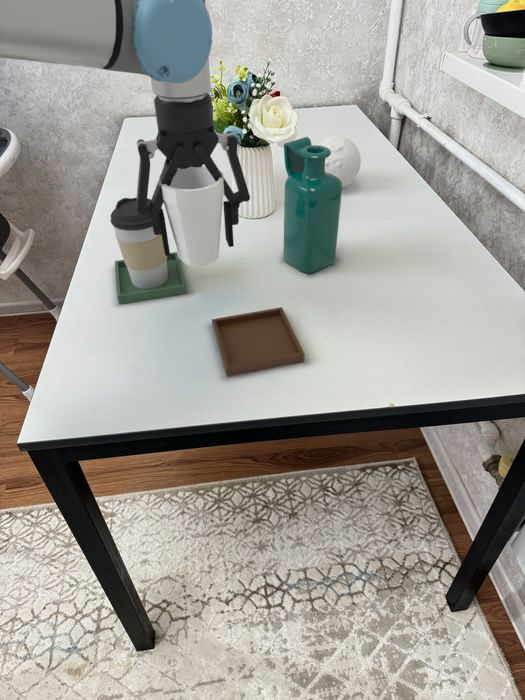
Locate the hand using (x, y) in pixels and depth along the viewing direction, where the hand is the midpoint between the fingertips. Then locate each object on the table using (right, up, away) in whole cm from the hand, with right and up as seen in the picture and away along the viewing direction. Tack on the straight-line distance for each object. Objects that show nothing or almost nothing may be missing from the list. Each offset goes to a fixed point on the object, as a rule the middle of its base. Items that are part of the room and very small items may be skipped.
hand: (198, 246), depth 78 cm
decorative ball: (+28, +24, +44) cm, 57 cm away
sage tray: (-11, -3, +15) cm, 19 cm away
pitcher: (+19, +2, +20) cm, 27 cm away
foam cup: (0, -1, +1) cm, 2 cm away
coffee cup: (-11, -3, +14) cm, 18 cm away
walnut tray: (+9, -16, +1) cm, 18 cm away
